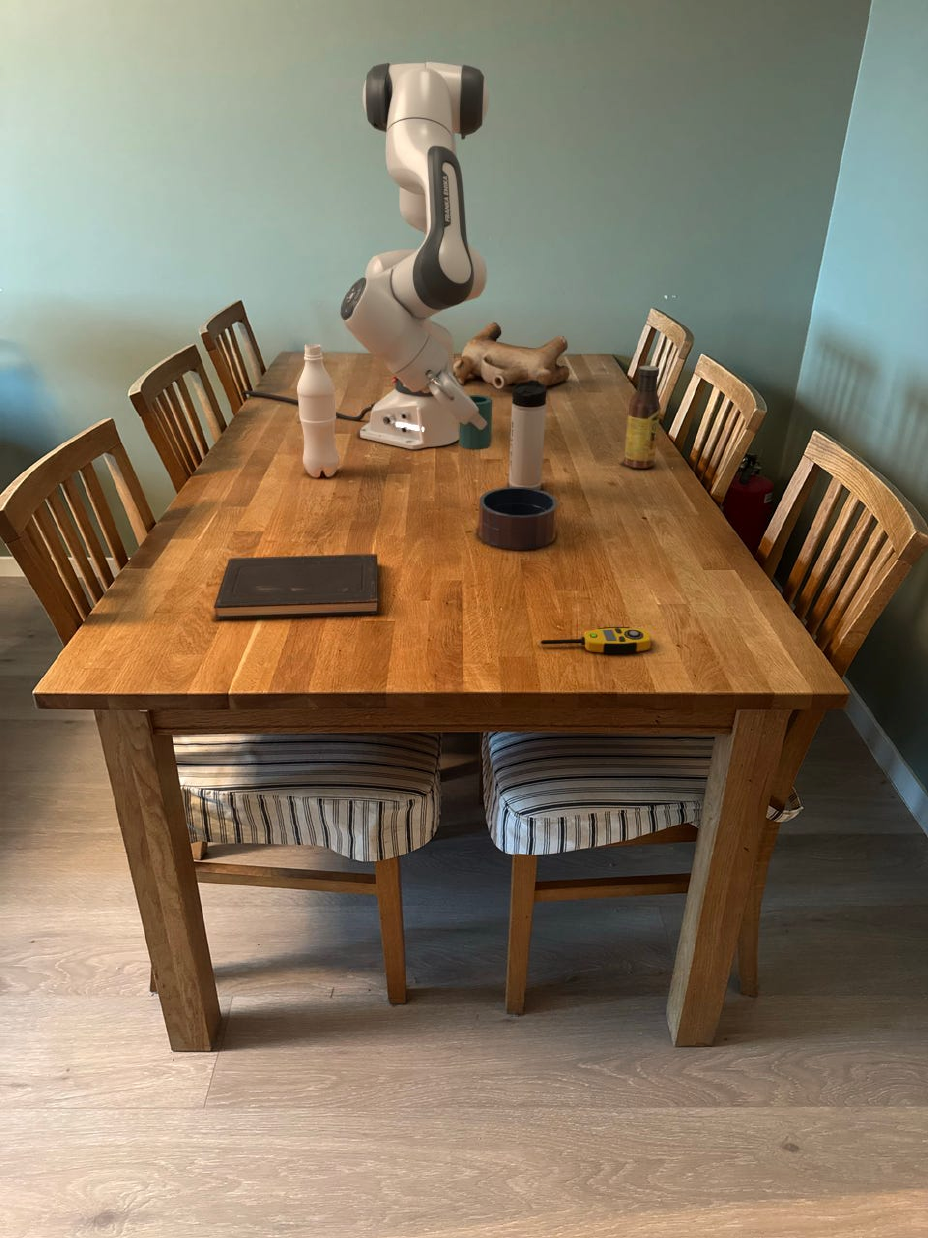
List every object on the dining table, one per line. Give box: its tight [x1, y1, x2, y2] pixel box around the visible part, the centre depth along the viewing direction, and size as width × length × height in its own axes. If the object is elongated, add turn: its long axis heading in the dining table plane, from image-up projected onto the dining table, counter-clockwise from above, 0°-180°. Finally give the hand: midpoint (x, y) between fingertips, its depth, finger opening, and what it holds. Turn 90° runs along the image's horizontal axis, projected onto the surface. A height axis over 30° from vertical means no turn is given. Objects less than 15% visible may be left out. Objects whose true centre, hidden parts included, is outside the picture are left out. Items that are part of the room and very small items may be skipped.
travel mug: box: [508, 380, 548, 490], centre depth 165 cm, size 6×7×20 cm
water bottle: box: [296, 343, 340, 479], centre depth 169 cm, size 7×7×25 cm
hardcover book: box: [213, 553, 379, 621], centre depth 132 cm, size 16×23×2 cm
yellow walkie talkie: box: [540, 626, 652, 655], centre depth 119 cm, size 5×2×15 cm
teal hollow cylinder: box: [458, 394, 493, 451], centre depth 152 cm, size 6×6×8 cm
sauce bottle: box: [623, 365, 661, 470], centre depth 176 cm, size 7×6×20 cm
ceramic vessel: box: [454, 321, 570, 390], centre depth 232 cm, size 13×31×25 cm
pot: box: [478, 486, 559, 551], centre depth 150 cm, size 13×13×6 cm
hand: (479, 419), depth 152 cm, fingers closed on teal hollow cylinder, 5 cm apart
